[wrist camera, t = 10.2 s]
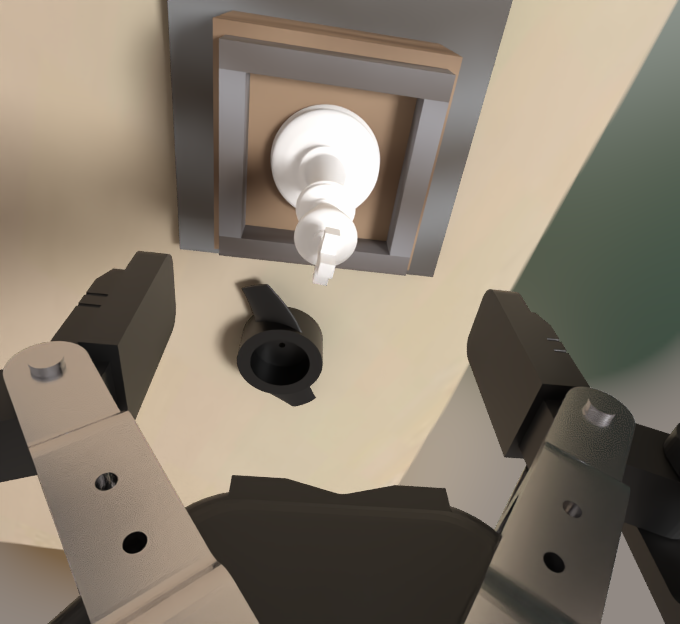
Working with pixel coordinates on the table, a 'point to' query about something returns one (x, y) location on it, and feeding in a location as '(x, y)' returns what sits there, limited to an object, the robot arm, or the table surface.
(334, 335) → the table surface
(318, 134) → the chess piece
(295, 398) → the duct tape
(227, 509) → the robot arm
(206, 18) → the pedestal
